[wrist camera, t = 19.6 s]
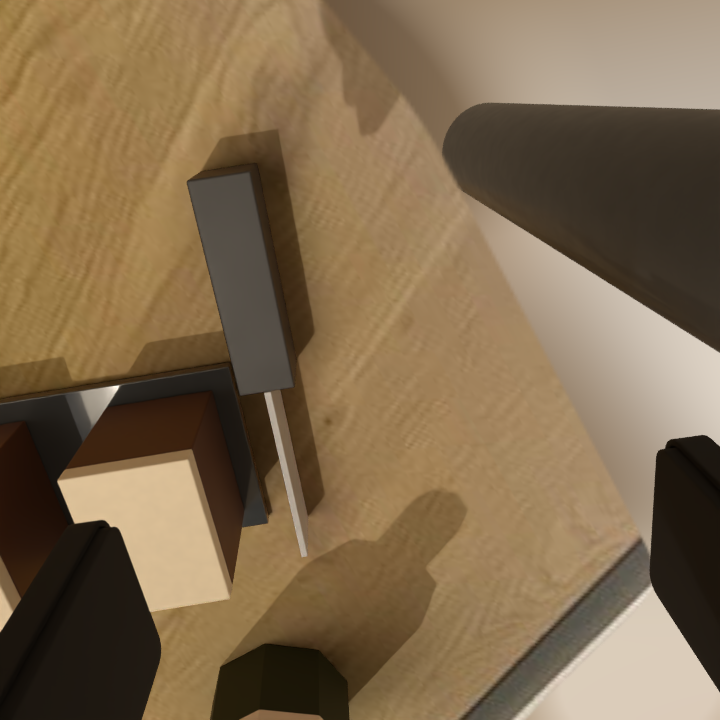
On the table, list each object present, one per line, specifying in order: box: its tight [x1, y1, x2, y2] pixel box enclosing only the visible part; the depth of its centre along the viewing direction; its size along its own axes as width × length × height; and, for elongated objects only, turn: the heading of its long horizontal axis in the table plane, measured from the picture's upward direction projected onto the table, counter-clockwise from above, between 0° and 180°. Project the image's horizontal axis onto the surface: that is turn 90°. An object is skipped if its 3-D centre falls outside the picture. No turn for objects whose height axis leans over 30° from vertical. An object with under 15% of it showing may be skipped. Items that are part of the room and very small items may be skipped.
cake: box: [57, 391, 244, 612], centre depth 27 cm, size 5×7×6 cm
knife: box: [187, 163, 308, 557], centre depth 27 cm, size 18×2×3 cm, turn 8°
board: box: [0, 362, 269, 527], centre depth 30 cm, size 15×9×1 cm, turn 98°
